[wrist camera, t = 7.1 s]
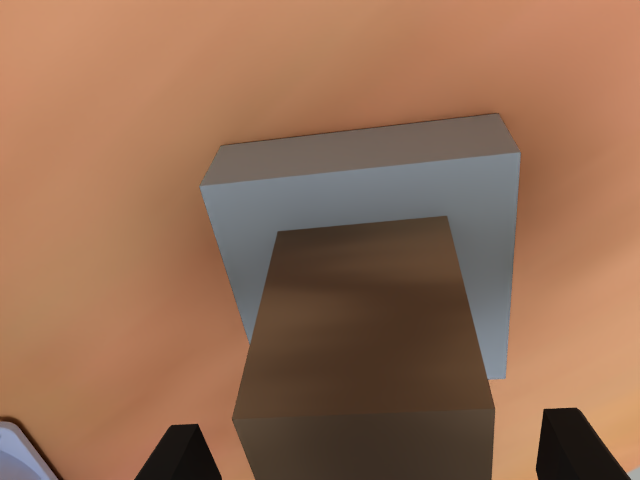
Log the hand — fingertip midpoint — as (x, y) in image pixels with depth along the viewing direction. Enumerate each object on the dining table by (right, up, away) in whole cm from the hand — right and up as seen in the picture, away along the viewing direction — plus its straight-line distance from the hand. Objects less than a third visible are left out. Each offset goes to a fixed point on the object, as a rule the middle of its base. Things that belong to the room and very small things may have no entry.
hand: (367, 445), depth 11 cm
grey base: (+1, +4, +6) cm, 8 cm away
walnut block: (0, +3, +4) cm, 5 cm away
